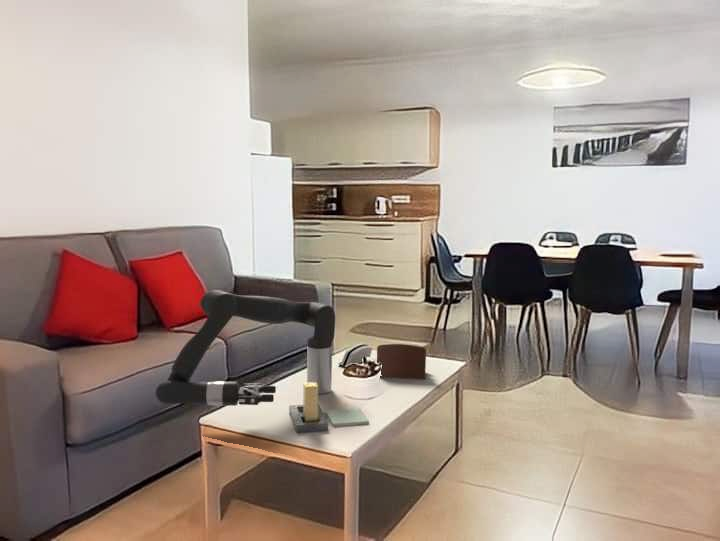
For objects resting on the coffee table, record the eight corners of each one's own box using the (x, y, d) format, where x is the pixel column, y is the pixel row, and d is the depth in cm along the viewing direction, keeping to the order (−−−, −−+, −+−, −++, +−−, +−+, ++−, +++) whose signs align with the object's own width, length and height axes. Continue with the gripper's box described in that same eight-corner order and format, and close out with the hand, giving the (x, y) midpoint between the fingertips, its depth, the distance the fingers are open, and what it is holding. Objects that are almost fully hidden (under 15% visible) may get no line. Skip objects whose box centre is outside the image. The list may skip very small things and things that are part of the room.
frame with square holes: (289, 412, 211) (289, 405, 210) (318, 410, 213) (318, 403, 213) (296, 433, 193) (296, 425, 193) (328, 430, 196) (328, 423, 195)
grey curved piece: (360, 358, 279) (366, 339, 276) (368, 363, 277) (375, 344, 274) (337, 366, 266) (344, 346, 263) (345, 372, 263) (352, 351, 260)
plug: (303, 424, 200) (303, 382, 198) (315, 423, 201) (315, 382, 199) (305, 429, 196) (305, 386, 195) (317, 428, 197) (317, 386, 196)
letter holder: (425, 380, 250) (426, 346, 248) (376, 377, 252) (376, 343, 250) (425, 372, 260) (426, 340, 258) (378, 370, 262) (379, 337, 260)
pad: (325, 413, 211) (325, 410, 210) (360, 411, 213) (360, 408, 213) (332, 426, 199) (332, 423, 199) (368, 424, 202) (368, 421, 202)
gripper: (219, 388, 188) (273, 389, 189) (226, 375, 202) (276, 375, 203) (219, 412, 189) (272, 413, 190) (226, 397, 203) (276, 397, 204)
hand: (274, 393), depth 197 cm, fingers open, 8 cm apart
